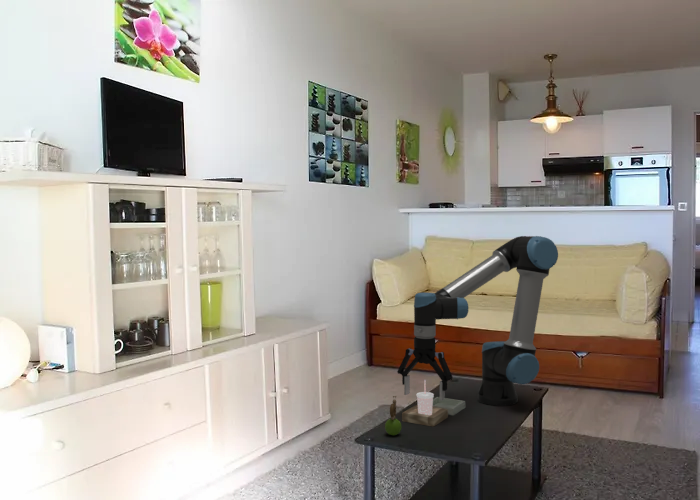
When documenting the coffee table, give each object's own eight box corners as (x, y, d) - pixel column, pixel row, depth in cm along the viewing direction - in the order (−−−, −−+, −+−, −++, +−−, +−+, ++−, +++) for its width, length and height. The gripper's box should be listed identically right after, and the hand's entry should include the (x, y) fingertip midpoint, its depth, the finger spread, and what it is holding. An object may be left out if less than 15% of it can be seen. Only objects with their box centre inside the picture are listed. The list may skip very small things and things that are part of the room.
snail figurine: (403, 431, 212) (402, 396, 211) (400, 438, 205) (400, 401, 205) (386, 430, 213) (386, 395, 212) (383, 437, 207) (383, 400, 206)
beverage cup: (413, 418, 227) (413, 379, 226) (428, 416, 229) (428, 377, 228) (421, 422, 221) (421, 382, 220) (437, 420, 223) (436, 381, 223)
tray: (465, 407, 239) (465, 400, 239) (453, 415, 229) (453, 408, 229) (436, 403, 245) (436, 396, 245) (423, 410, 235) (423, 404, 235)
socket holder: (447, 417, 227) (447, 409, 227) (433, 426, 217) (433, 417, 217) (417, 412, 233) (417, 404, 233) (402, 421, 223) (402, 412, 223)
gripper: (388, 335, 227) (388, 394, 228) (453, 341, 214) (453, 404, 215) (398, 332, 234) (397, 389, 234) (462, 338, 220) (461, 399, 221)
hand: (424, 396), depth 225 cm, fingers open, 13 cm apart
